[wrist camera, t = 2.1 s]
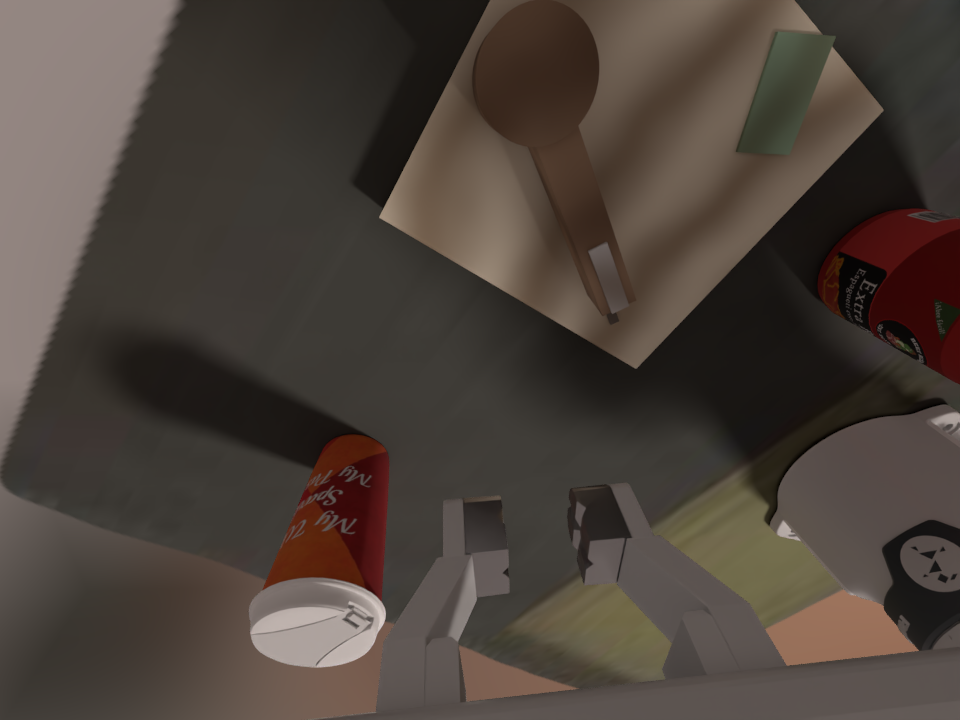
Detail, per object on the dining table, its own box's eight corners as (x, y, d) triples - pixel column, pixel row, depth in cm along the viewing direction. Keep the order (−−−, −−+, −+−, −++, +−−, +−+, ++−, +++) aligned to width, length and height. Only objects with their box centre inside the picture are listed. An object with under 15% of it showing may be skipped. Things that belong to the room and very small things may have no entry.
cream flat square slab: (857, 104, 24) (891, 105, 22) (625, 354, 32) (637, 370, 30) (595, -206, 17) (614, -242, 16) (383, 209, 25) (378, 218, 24)
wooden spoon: (452, 52, 20) (455, 45, 17) (553, -12, 19) (574, -31, 16) (565, 305, 27) (580, 332, 24) (641, 268, 26) (666, 291, 23)
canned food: (799, 257, 29) (967, 335, 20) (925, 177, 27) (1180, 223, 18) (827, 332, 33) (981, 428, 23) (941, 266, 30) (1161, 344, 21)
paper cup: (362, 408, 33) (319, 585, 21) (420, 466, 37) (410, 644, 25) (285, 451, 35) (205, 636, 23) (348, 502, 39) (307, 684, 27)
